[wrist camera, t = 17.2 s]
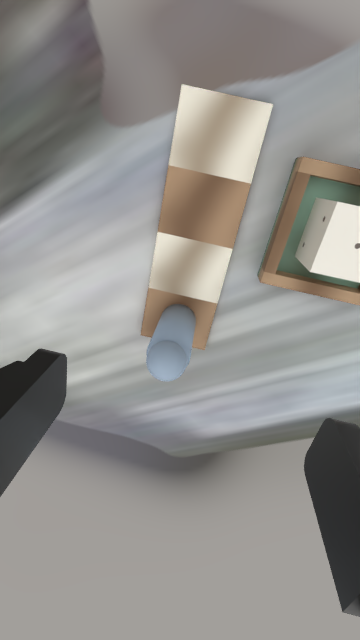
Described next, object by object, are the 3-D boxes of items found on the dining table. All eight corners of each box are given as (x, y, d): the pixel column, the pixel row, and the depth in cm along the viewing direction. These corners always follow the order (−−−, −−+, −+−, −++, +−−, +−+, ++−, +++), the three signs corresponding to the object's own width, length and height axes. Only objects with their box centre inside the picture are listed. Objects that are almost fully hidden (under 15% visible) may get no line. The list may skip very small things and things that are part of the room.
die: (375, 210, 25) (411, 217, 20) (349, 268, 27) (375, 287, 22) (315, 197, 25) (337, 201, 20) (293, 256, 27) (309, 272, 22)
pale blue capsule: (200, 310, 30) (193, 360, 22) (189, 340, 32) (179, 397, 23) (166, 299, 30) (145, 344, 22) (157, 329, 32) (135, 383, 23)
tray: (418, 185, 24) (436, 186, 22) (360, 299, 28) (371, 308, 26) (296, 158, 24) (303, 156, 22) (257, 275, 29) (260, 282, 27)
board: (271, 106, 23) (273, 104, 22) (204, 347, 33) (204, 350, 32) (182, 86, 23) (181, 84, 23) (141, 332, 33) (140, 335, 32)
